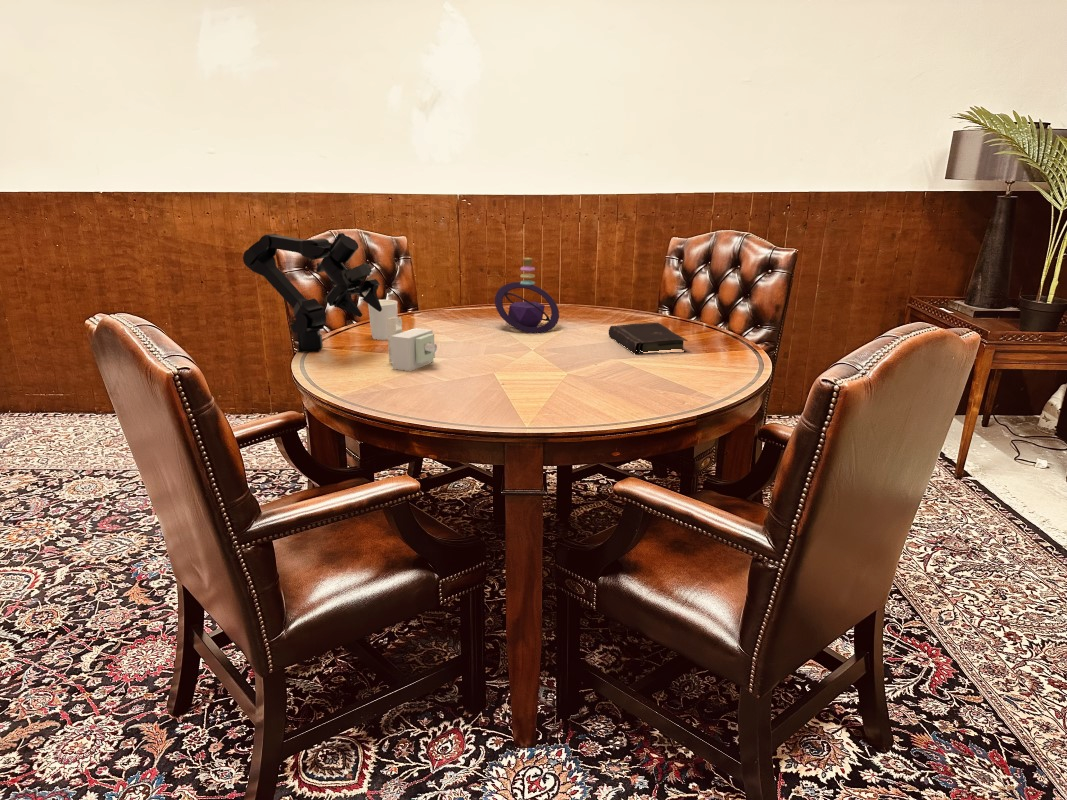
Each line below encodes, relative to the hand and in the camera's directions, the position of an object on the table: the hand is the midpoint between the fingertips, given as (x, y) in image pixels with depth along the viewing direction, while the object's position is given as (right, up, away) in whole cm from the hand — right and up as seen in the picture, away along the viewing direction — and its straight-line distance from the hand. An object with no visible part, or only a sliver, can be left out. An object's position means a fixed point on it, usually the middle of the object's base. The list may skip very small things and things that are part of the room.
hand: (371, 313), depth 211 cm
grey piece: (+13, -15, -2) cm, 20 cm away
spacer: (+17, -14, -4) cm, 22 cm away
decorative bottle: (+45, 0, +48) cm, 66 cm away
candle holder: (-3, -4, +32) cm, 33 cm away
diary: (+85, -8, +26) cm, 89 cm away
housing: (+13, -15, -2) cm, 20 cm away
